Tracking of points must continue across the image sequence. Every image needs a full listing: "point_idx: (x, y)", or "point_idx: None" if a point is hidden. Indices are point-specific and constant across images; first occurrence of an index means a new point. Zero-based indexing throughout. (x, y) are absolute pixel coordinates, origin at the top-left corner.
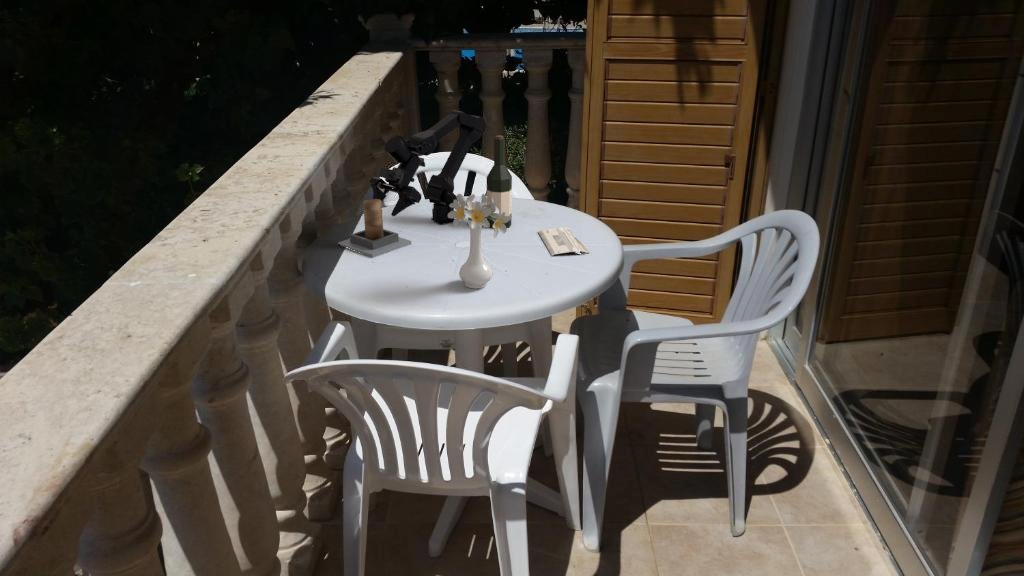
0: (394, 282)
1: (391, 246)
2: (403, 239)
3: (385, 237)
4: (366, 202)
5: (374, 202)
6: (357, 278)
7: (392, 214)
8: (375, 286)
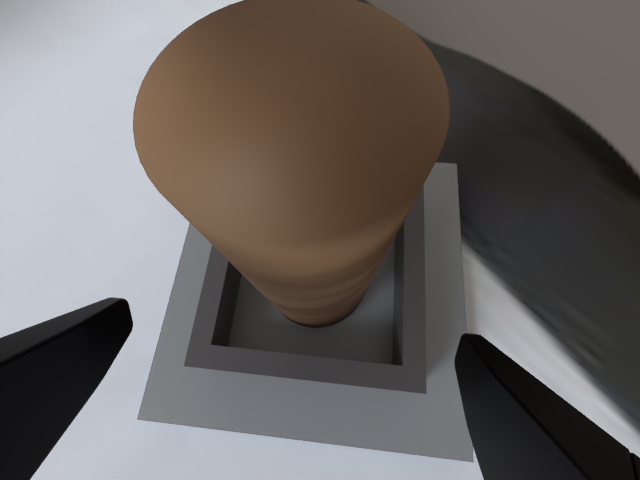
0: (17, 50)
1: (192, 271)
2: (195, 410)
3: (216, 257)
4: (328, 21)
5: (221, 78)
6: (148, 16)
7: (104, 301)
8: (62, 8)
